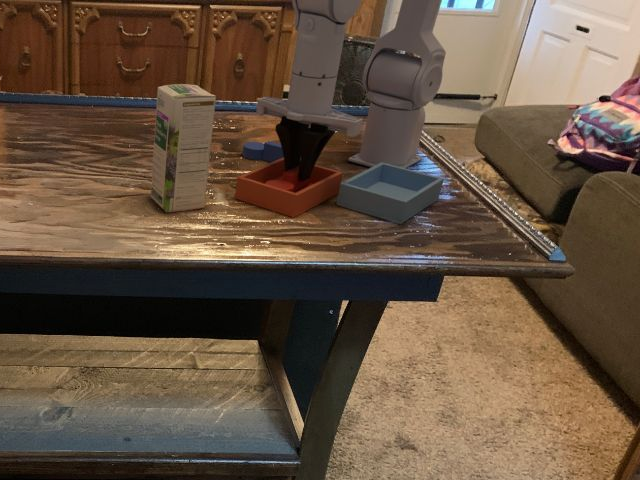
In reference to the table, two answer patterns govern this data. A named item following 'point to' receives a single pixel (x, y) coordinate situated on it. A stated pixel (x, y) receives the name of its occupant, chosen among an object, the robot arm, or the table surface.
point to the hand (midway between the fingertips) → (297, 177)
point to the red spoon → (289, 181)
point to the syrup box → (182, 146)
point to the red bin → (281, 200)
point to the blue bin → (389, 192)
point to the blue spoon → (263, 151)
